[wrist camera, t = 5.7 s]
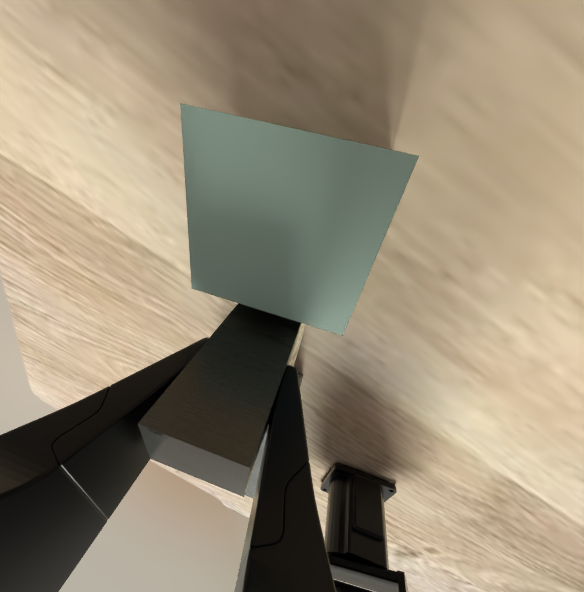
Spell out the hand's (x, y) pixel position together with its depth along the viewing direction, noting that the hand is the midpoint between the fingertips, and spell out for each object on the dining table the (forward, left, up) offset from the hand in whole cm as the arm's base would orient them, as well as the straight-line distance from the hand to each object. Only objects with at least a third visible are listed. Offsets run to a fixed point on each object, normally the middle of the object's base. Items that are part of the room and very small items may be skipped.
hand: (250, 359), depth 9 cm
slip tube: (-4, 0, -6) cm, 7 cm away
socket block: (+5, 0, -7) cm, 8 cm away
